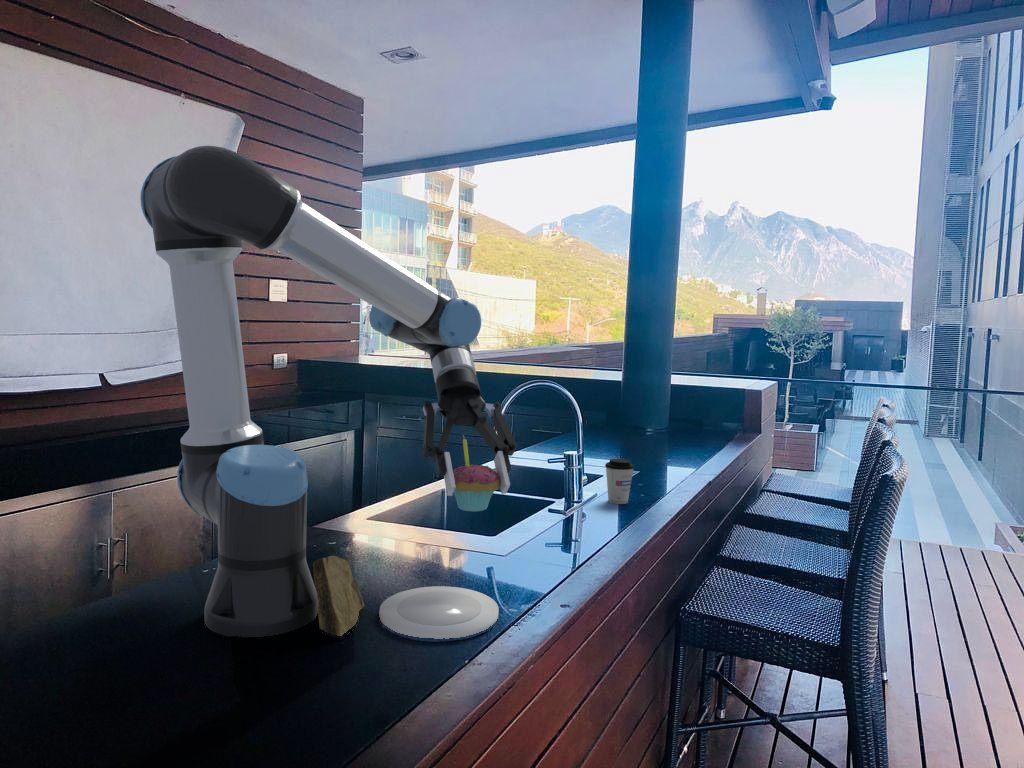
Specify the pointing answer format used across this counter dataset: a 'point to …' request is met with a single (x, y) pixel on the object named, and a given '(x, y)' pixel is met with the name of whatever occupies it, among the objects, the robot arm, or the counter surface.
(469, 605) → the plate
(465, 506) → the cupcake
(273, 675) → the counter surface
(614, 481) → the coffee cup
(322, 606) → the rock
